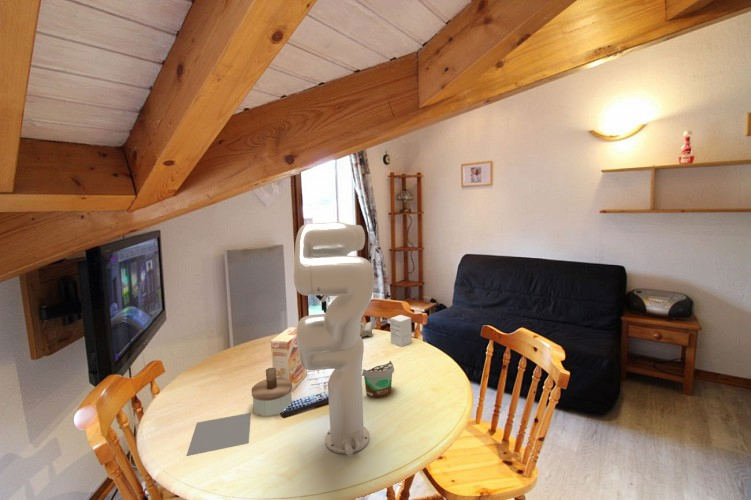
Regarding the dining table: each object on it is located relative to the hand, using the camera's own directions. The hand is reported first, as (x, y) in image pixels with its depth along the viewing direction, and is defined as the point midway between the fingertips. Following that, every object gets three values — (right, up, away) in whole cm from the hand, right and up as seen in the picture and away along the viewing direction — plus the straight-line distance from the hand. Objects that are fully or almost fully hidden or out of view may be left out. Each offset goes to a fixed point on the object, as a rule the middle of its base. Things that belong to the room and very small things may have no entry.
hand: (338, 310), depth 125 cm
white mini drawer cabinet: (+25, -24, +48) cm, 59 cm away
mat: (-33, -34, -18) cm, 51 cm away
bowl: (-22, -32, -4) cm, 39 cm away
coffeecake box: (-19, -30, +12) cm, 38 cm away
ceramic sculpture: (+5, -24, +58) cm, 63 cm away
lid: (-22, -26, -5) cm, 34 cm away
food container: (+15, -30, +2) cm, 34 cm away
